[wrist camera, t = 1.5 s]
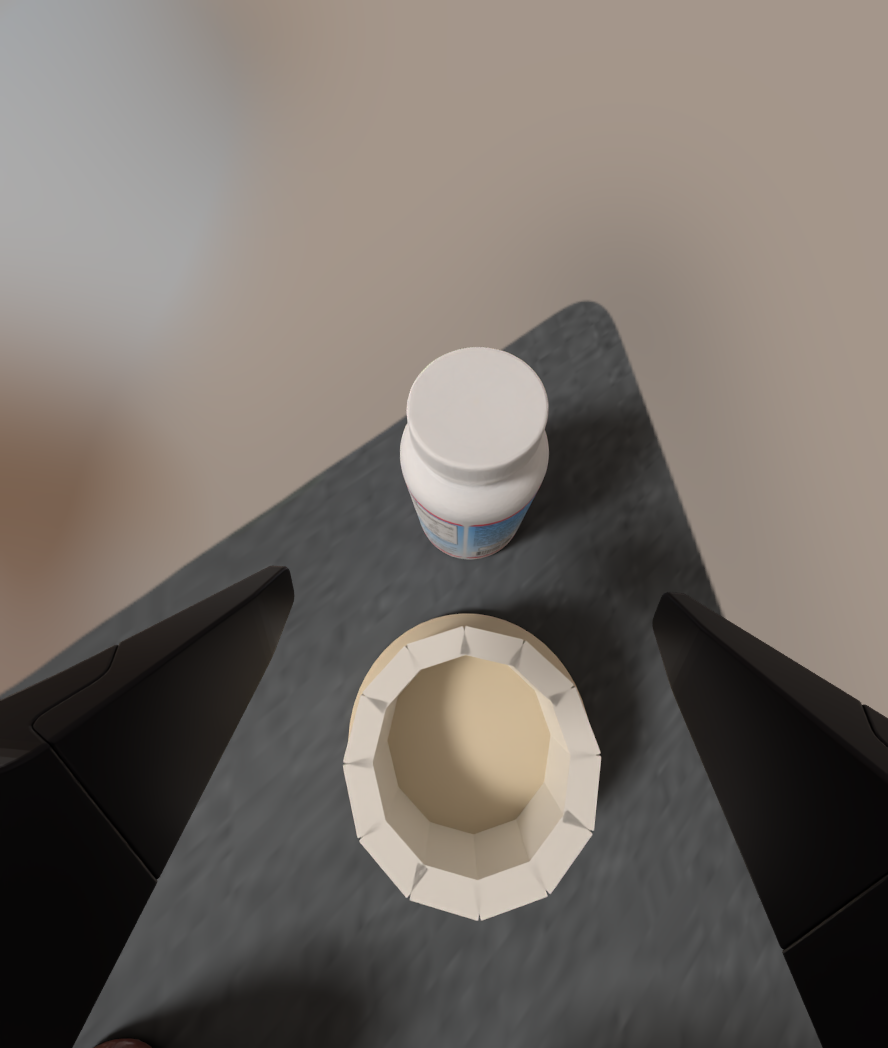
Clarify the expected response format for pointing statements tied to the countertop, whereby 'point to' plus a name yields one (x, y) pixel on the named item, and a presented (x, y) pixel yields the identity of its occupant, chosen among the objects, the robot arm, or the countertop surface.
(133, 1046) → the supplement bottle
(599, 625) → the countertop surface
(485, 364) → the pill bottle
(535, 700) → the socket dock
